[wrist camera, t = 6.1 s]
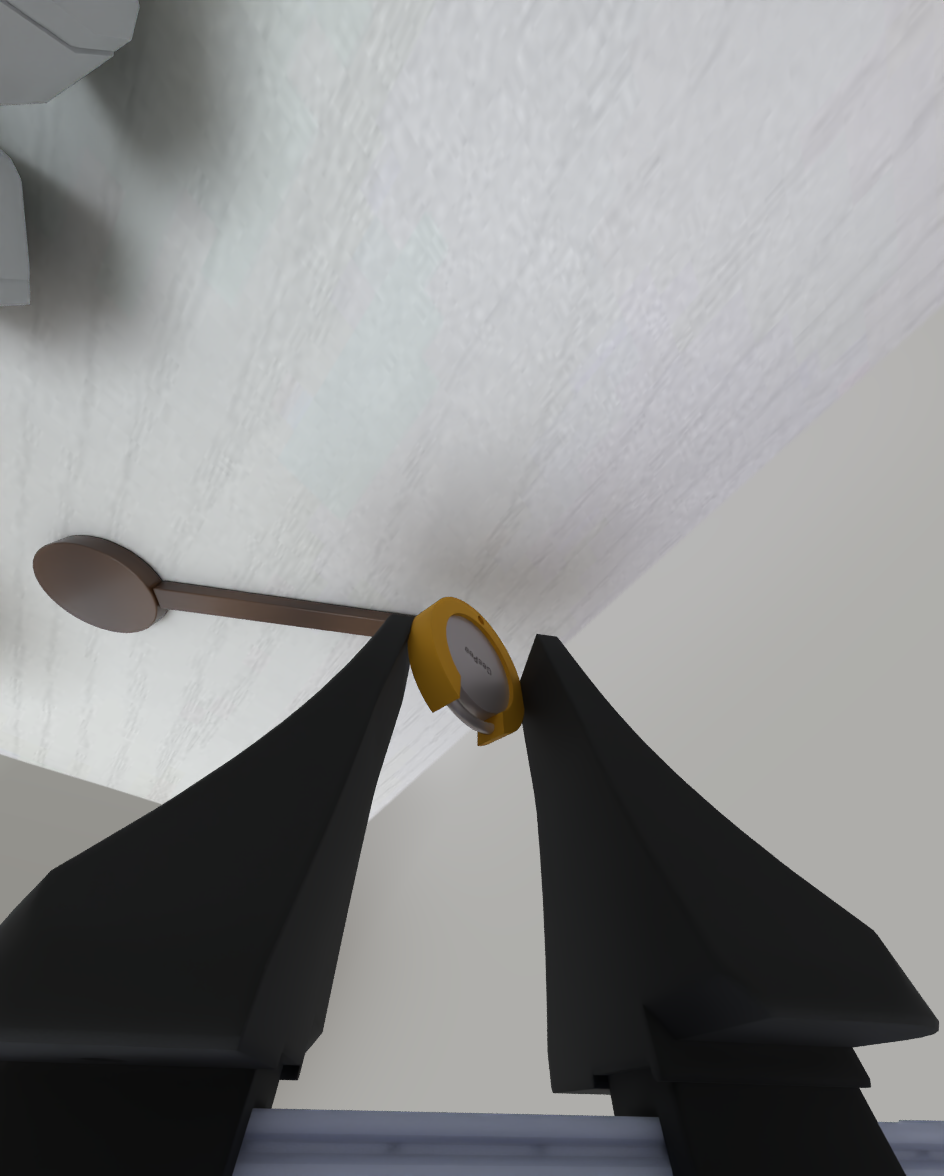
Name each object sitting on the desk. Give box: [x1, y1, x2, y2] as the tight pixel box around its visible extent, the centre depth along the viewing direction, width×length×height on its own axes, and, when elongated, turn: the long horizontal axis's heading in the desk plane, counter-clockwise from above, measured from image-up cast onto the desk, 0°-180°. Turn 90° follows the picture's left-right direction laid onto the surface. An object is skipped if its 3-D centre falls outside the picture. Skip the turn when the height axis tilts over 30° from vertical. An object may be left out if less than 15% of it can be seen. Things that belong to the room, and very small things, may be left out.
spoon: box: [33, 536, 415, 637], centre depth 16 cm, size 20×5×1 cm, turn 80°
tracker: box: [407, 597, 524, 746], centre depth 9 cm, size 4×1×4 cm, turn 39°
